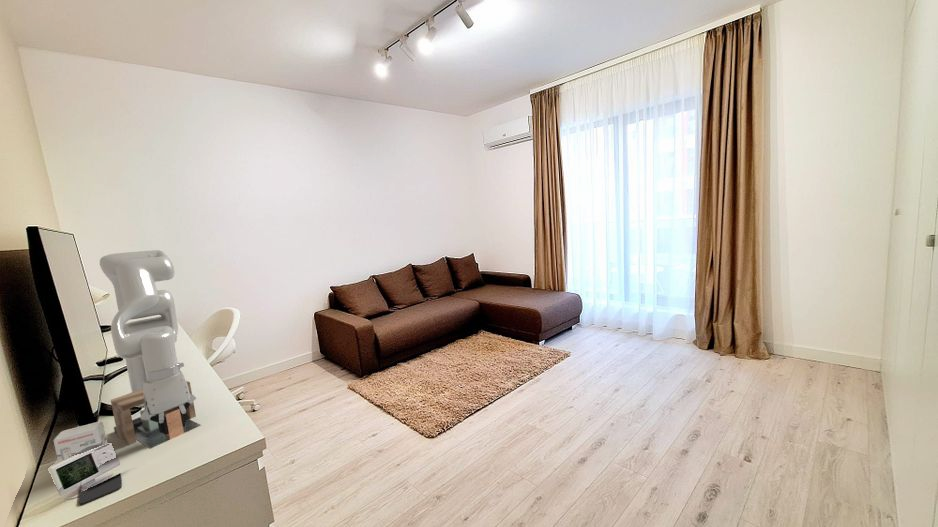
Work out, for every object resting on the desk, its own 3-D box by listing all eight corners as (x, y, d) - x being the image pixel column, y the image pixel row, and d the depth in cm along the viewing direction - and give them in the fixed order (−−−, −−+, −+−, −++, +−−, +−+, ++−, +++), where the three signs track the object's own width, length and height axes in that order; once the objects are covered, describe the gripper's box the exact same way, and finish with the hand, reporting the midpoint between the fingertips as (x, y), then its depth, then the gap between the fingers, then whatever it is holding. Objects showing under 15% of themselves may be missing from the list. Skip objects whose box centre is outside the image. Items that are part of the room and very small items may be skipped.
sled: (128, 436, 113) (122, 410, 112) (177, 416, 124) (173, 391, 123) (150, 451, 104) (145, 422, 103) (201, 428, 115) (197, 401, 114)
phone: (120, 462, 100) (121, 486, 90) (120, 465, 100) (122, 489, 90) (81, 477, 95) (78, 505, 84) (82, 480, 95) (79, 508, 84)
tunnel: (118, 440, 112) (110, 399, 111) (183, 413, 127) (176, 377, 125) (130, 448, 107) (122, 406, 105) (196, 419, 121) (189, 381, 120)
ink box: (60, 482, 94) (50, 440, 93) (68, 472, 98) (59, 431, 97) (105, 468, 99) (97, 427, 97) (111, 459, 103) (103, 420, 101)
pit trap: (115, 435, 115) (113, 427, 115) (175, 411, 129) (174, 403, 128) (120, 439, 113) (118, 430, 112) (181, 414, 126) (179, 406, 126)
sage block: (143, 429, 115) (140, 411, 115) (166, 419, 121) (163, 402, 120) (150, 433, 112) (147, 415, 112) (174, 423, 118) (170, 406, 117)
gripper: (189, 360, 117) (198, 413, 119) (122, 382, 103) (133, 441, 105) (200, 363, 113) (209, 418, 115) (131, 386, 99) (144, 448, 101)
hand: (173, 428), depth 110 cm, fingers closed on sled, 3 cm apart
